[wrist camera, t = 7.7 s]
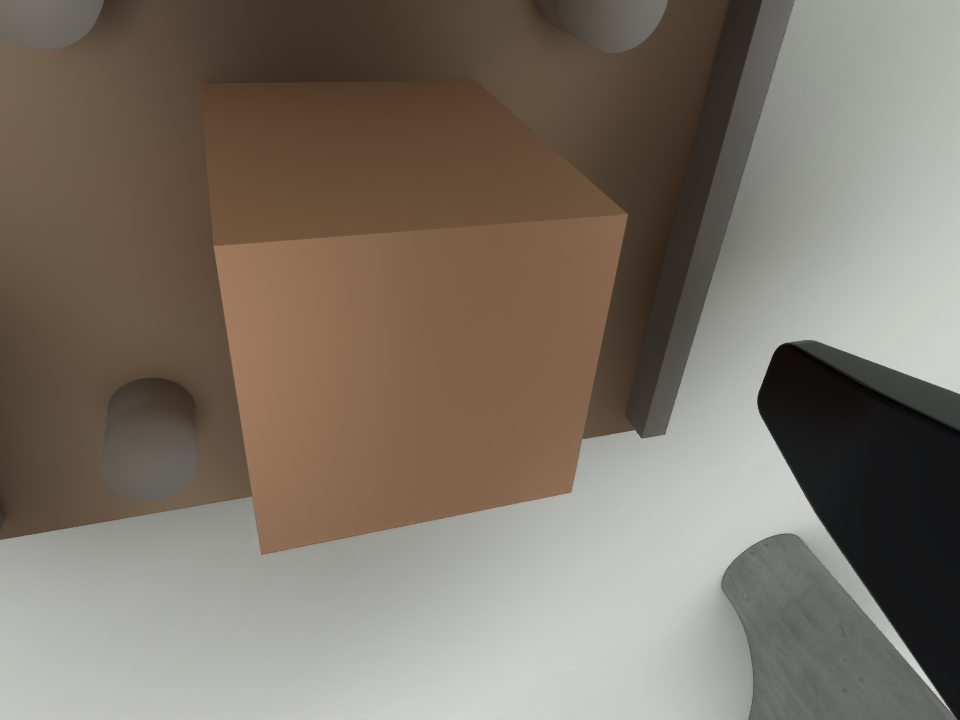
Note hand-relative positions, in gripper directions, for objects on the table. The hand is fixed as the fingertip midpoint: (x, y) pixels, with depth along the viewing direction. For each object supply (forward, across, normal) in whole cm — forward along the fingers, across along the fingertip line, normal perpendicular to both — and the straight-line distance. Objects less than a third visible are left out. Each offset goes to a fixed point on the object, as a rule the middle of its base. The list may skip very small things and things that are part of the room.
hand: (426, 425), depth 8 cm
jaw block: (+5, 0, 0) cm, 5 cm away
